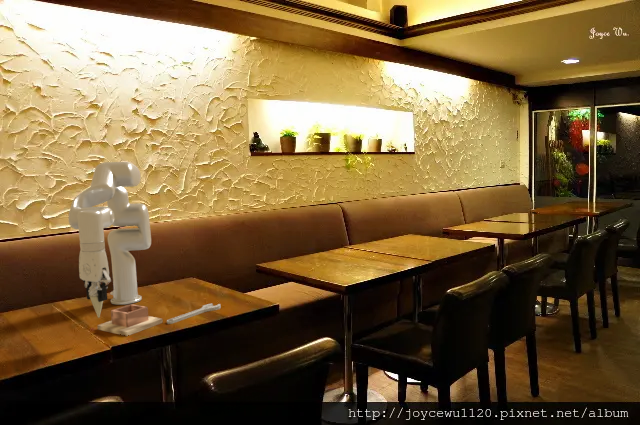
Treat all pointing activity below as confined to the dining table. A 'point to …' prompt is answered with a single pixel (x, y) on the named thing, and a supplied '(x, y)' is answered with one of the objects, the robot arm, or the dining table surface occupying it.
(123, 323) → the cone stand
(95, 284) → the ice cream cone
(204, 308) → the adjustable wrench
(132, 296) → the robot arm
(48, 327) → the dining table surface
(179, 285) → the dining table surface
